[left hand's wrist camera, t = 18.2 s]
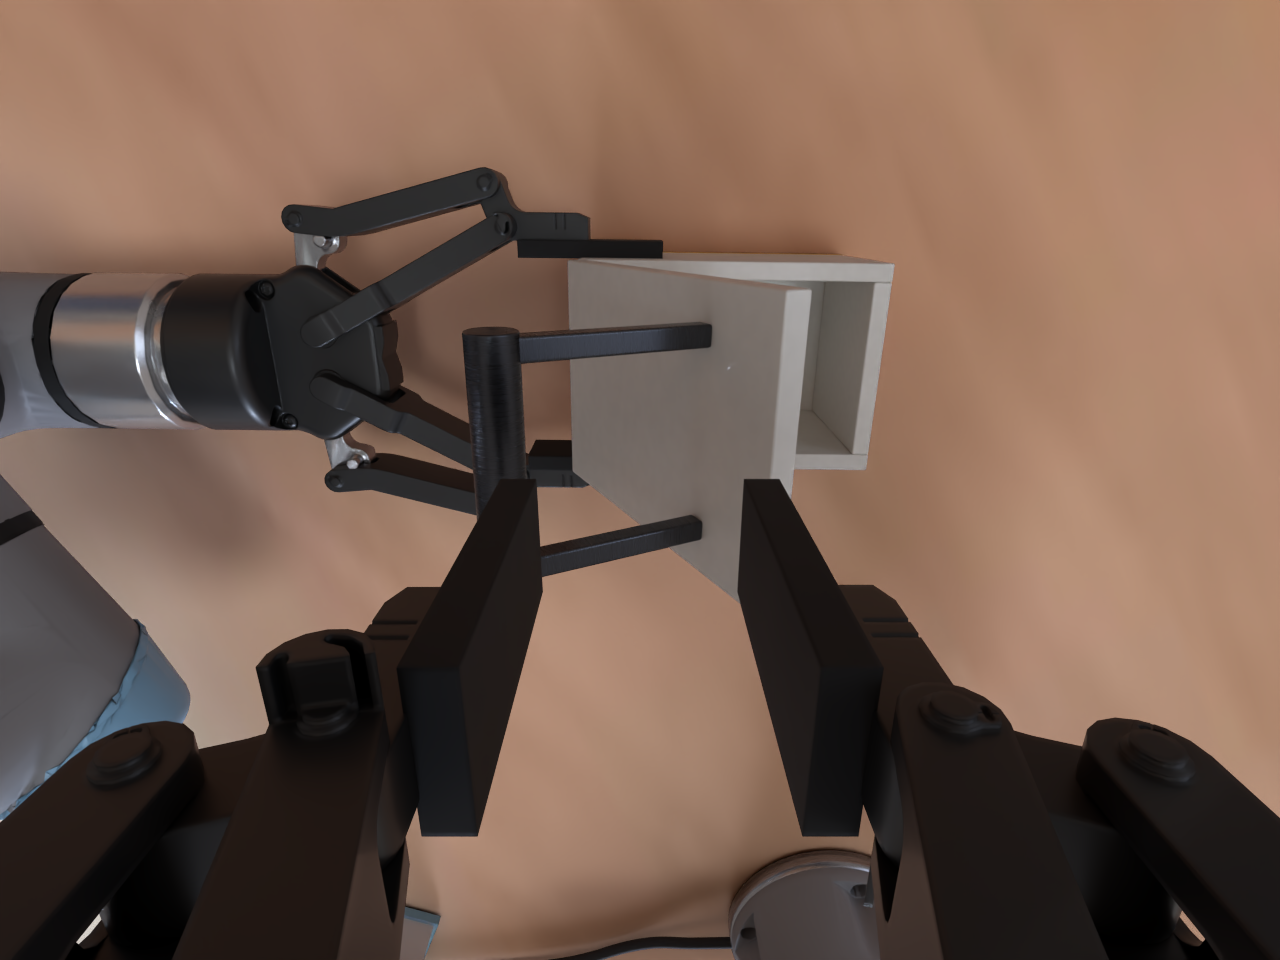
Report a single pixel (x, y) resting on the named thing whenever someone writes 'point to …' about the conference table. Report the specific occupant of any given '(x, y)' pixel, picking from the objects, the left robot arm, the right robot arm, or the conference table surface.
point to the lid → (654, 406)
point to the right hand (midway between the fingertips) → (659, 358)
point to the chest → (818, 340)
